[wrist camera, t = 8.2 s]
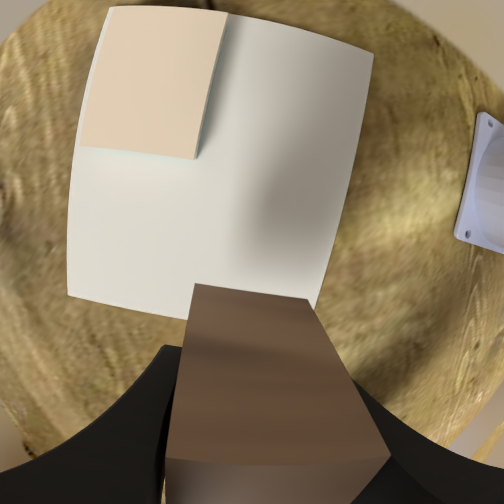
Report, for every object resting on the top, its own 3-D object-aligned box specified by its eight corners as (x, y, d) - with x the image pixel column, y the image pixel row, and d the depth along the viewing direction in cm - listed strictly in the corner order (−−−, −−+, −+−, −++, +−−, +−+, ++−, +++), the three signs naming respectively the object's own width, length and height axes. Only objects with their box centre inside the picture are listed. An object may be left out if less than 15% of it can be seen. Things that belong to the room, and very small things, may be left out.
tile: (196, 159, 13) (227, 25, 11) (193, 160, 12) (228, 12, 10) (93, 145, 12) (124, 17, 11) (79, 146, 11) (114, 6, 9)
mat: (370, 55, 12) (374, 53, 12) (303, 331, 17) (305, 335, 16) (112, 10, 11) (110, 7, 10) (70, 292, 15) (67, 295, 15)
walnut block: (281, 383, 12) (319, 533, 6) (183, 373, 12) (166, 533, 5) (307, 299, 11) (391, 455, 4) (194, 282, 11) (165, 456, 4)
